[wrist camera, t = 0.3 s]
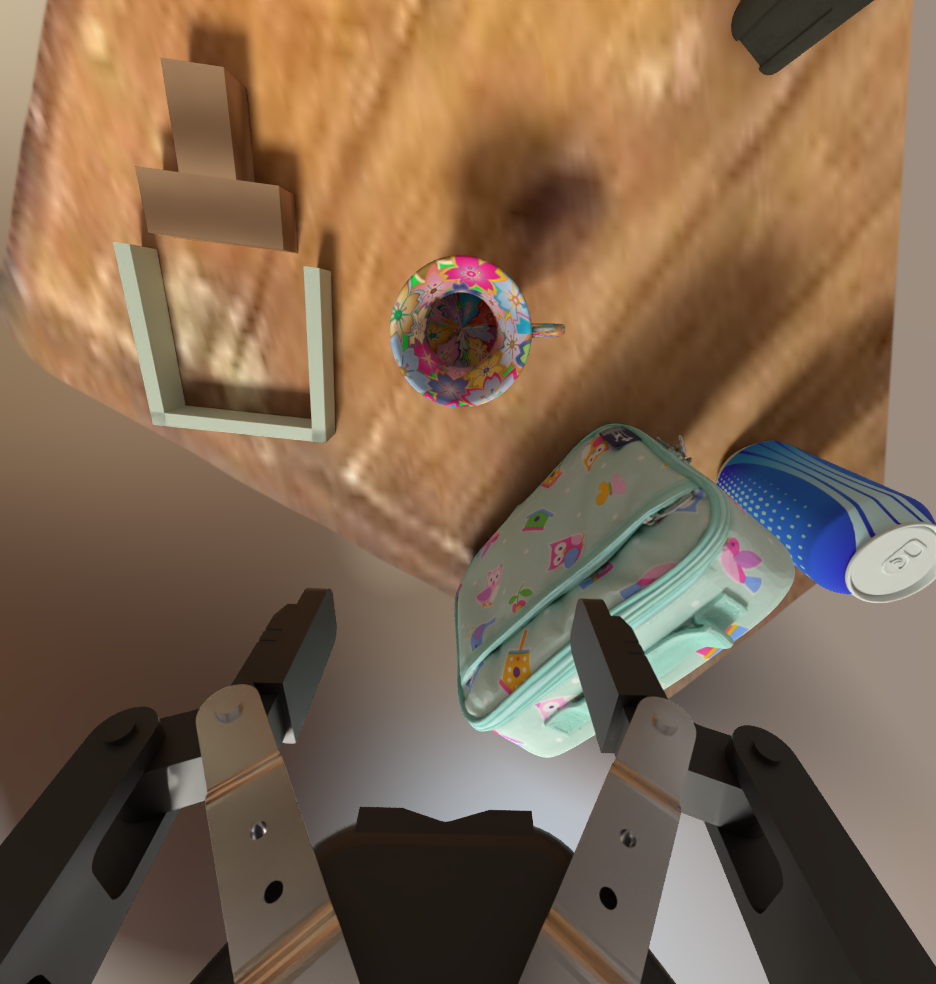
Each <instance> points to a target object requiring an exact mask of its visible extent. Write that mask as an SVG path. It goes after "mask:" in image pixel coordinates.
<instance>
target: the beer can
mask: <svg viewBox="0 0 936 984" xmlns="http://www.w3.org/2000/svg"><path fill="white" fill-rule="evenodd" d="M716 484H717V485H718V486H719V487H720V488H721V489H722V490H723V491H724V492H726V493H727V494H728V495H729V496H730V497H732V498H733V499H734V500H735V501H736V502H737V503H738V504H739V505H740V506H741V507H742V508H743V509H744V510H745V511H747V512H748V513H749V514H750V515H751V516H752V517H753V518H754V519H756V520H757V521H758V522H759V523H760V524H761V525H763V526H764V527H765V528H766V529H767V530H768V531H770V532H771V533H772V534H773V535H774V536H775V537H776V538H777V539H778V540H779V541H780V542H781V543H782V544H783V545H784V546H785V547H786V548H787V550H788V552H789V553H790V556H791V558H792V560H793V564H794V565H795V566H796V567H797V568H798V569H800V570H801V571H802V572H803V573H805V574H806V575H807V576H808V577H810V578H811V579H812V580H813V581H815V582H816V583H817V584H819V585H820V586H822V587H824V588H825V589H828V590H830V591H833V592H838V593H843V594H849V595H854V596H856V597H857V598H859V599H861V600H863V601H867V602H872V603H886V602H892V601H897V600H900V599H903V598H906V597H908V596H911V595H913V594H914V593H917V592H918V591H920V590H922V589H923V588H925V587H926V586H928V585H929V584H930V583H932V582H933V581H934V580H935V579H936V523H935V521H934V519H933V517H932V515H931V514H930V512H929V511H928V509H927V508H926V507H925V506H924V505H923V504H921V503H920V502H918V501H917V500H915V499H913V498H910V497H908V496H906V495H904V494H902V493H899V492H897V491H895V490H892V489H890V488H888V487H885V486H883V485H881V484H879V483H876V482H874V481H872V480H869V479H867V478H865V477H862V476H860V475H858V474H856V473H853V472H851V471H849V470H846V469H844V468H842V467H839V466H837V465H835V464H833V463H830V462H828V461H826V460H823V459H821V458H819V457H816V456H814V455H812V454H810V453H807V452H805V451H803V450H800V449H798V448H796V447H793V446H791V445H789V444H787V443H784V442H779V441H763V442H759V443H755V444H752V445H750V446H747V447H744V448H742V449H740V450H738V451H737V452H735V453H734V454H733V455H731V456H730V457H729V458H728V459H727V460H726V461H725V462H724V464H723V465H722V467H721V469H720V471H719V473H718V476H717V482H716Z"/></svg>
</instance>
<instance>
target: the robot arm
mask: <svg viewBox="0 0 936 984" xmlns="http://www.w3.org/2000/svg"><path fill="white" fill-rule="evenodd" d="M336 629H337V628H336V617H335V609H334V601H333V593H332V590H331V589H319V588H306V589H305V590H304V592H303V594H302V596H301V597H300V599H299V601H298V603H297V604H287V605H286V606H284V607H283V608H282V609H281V610H280V611H279V612H277V613H276V614H275V615H274V616H273V617H272V619H271V621H270V622H269V624H268V626H267V627H266V631H264V632H263V634H262V636H261V637H260V639H259V642H258V643H257V644H256V645H255V647H254V649H253V650H252V652H251V654H250V655H249V657H248V658H247V660H246V662H245V663H244V665H243V667H242V669H241V670H240V672H239V673H238V675H237V676H236V678H235V680H234V681H233V683H232V685H231V686H229V687H226V688H223V689H222V690H220V691H218V692H216V693H215V694H213V695H212V696H211V697H210V698H208V699H207V700H206V701H205V702H204V704H203V705H202V706H201V707H200V708H199V709H196V710H193V711H190V712H186V713H181V714H177V715H173V716H170V717H165V718H161V719H159V717H158V715H157V713H156V712H155V711H154V710H153V709H151V708H149V707H134V708H130V709H127V710H124V711H121V712H119V713H117V714H115V715H113V716H111V717H109V718H108V719H106V720H105V721H103V722H102V723H101V724H100V725H98V726H97V727H96V728H95V729H94V730H93V731H92V732H91V733H90V735H89V736H88V737H87V738H86V739H85V741H84V742H83V743H82V744H81V746H80V747H79V748H78V750H77V751H76V752H75V753H74V754H73V756H72V757H71V758H70V759H69V760H68V762H67V763H66V764H65V765H64V767H63V768H62V769H61V770H60V772H59V773H58V774H57V775H56V777H55V778H54V779H53V781H52V782H51V783H50V784H49V785H48V787H47V788H46V789H45V791H44V792H43V793H42V794H41V796H40V797H39V798H38V799H37V801H36V802H35V803H34V804H33V806H32V807H31V808H30V809H29V810H28V812H27V813H26V814H25V815H24V817H23V818H22V819H21V820H20V822H19V823H18V824H17V825H16V827H15V828H14V829H13V830H12V832H11V833H10V834H9V835H8V837H7V838H6V839H5V840H4V841H3V843H2V844H1V845H0V984H91V983H92V981H93V979H94V977H95V975H96V973H97V971H98V970H99V968H100V966H101V964H102V962H103V960H104V958H105V956H106V954H107V952H108V950H109V948H110V946H111V944H112V942H113V940H114V938H115V936H116V934H117V932H118V930H119V928H120V926H121V924H122V922H123V920H124V918H125V916H126V914H127V912H128V910H129V909H130V907H131V905H132V903H133V901H134V899H135V897H136V895H137V893H138V891H139V889H140V887H141V885H142V883H143V881H144V879H145V877H146V875H147V873H148V871H149V869H150V867H151V865H152V863H153V861H154V859H155V857H156V855H157V853H158V851H159V849H160V847H161V846H162V844H163V841H164V840H165V838H166V836H167V834H168V832H169V830H170V828H171V826H172V824H173V822H174V820H175V818H176V816H177V814H178V812H179V810H180V808H182V807H185V806H188V805H192V804H195V803H198V802H201V801H204V800H205V804H206V811H207V817H208V824H209V830H210V836H211V842H212V848H213V855H214V860H215V867H216V873H217V879H218V886H219V892H220V897H221V904H222V910H223V916H224V922H225V928H226V935H227V942H226V944H225V945H224V946H223V947H222V948H221V949H220V950H219V952H218V953H217V954H216V955H215V956H214V957H213V958H212V959H211V961H210V962H209V963H208V964H207V965H206V966H205V967H204V968H203V969H202V971H201V972H200V973H199V974H198V975H197V976H196V977H195V979H194V980H193V981H192V982H191V983H190V984H676V983H675V982H674V980H673V979H672V978H671V977H670V975H669V974H668V973H667V971H666V970H665V969H664V967H663V966H662V965H661V963H660V962H659V961H658V960H657V958H656V957H655V956H654V954H653V953H652V952H651V950H650V949H649V944H650V940H651V936H652V932H653V927H654V924H655V919H656V915H657V911H658V907H659V903H660V899H661V894H662V890H663V886H664V882H665V878H666V873H667V869H668V865H669V861H670V857H671V852H672V849H673V844H674V840H675V836H676V832H677V828H678V824H679V819H680V815H681V812H682V813H684V814H687V815H689V816H692V817H695V818H698V819H700V820H703V821H704V822H705V825H706V827H707V830H708V832H709V835H710V837H711V839H712V842H713V845H714V847H715V849H716V852H717V854H718V857H719V859H720V862H721V864H722V867H723V869H724V872H725V874H726V877H727V879H728V882H729V884H730V887H731V889H732V892H733V894H734V897H735V899H736V902H737V904H738V907H739V909H740V911H741V914H742V916H743V919H744V921H745V924H746V926H747V929H748V931H749V934H750V936H751V939H752V941H753V944H754V946H755V948H756V951H757V954H758V956H759V959H760V961H761V963H762V966H763V968H764V971H765V973H766V976H767V978H768V981H769V983H770V984H936V966H935V965H934V963H933V962H932V960H931V959H930V957H929V956H928V954H927V953H926V951H925V950H924V948H923V947H922V945H921V944H920V942H919V941H918V939H917V938H916V936H915V935H914V933H913V932H912V930H911V929H910V927H909V926H908V924H907V923H906V921H905V920H904V918H903V917H902V915H901V913H900V912H899V910H898V909H897V908H896V906H895V904H894V903H893V902H892V900H891V898H890V897H889V896H888V894H887V893H886V891H885V889H884V888H883V887H882V885H881V883H880V882H879V880H878V879H877V877H876V876H875V874H874V873H873V872H872V870H871V868H870V867H869V865H868V864H867V862H866V861H865V859H864V858H863V856H862V855H861V853H860V852H859V850H858V849H857V847H856V846H855V844H854V843H853V841H852V840H851V838H850V837H849V835H848V834H847V832H846V831H845V829H844V828H843V826H842V825H841V823H840V821H839V820H838V819H837V817H836V815H835V814H834V812H833V811H832V809H831V808H830V806H829V805H828V803H827V802H826V800H825V799H824V797H823V796H822V794H821V793H820V792H819V790H818V788H817V787H816V785H815V784H814V782H813V781H812V779H811V778H810V776H809V775H808V773H807V772H806V770H805V769H804V767H803V766H802V764H801V763H800V761H799V760H798V758H797V757H796V755H795V754H794V753H793V751H792V750H791V749H790V748H789V747H788V746H787V745H786V744H785V743H784V742H783V741H782V740H780V739H779V738H778V737H777V736H775V735H773V734H772V733H770V732H768V731H766V730H764V729H762V728H759V727H755V726H750V725H746V726H745V725H744V726H740V727H738V728H737V729H736V730H735V731H734V733H733V734H732V736H730V735H727V734H724V733H721V732H718V731H715V730H712V729H708V728H705V727H703V726H700V725H697V724H695V723H693V721H692V719H691V718H690V716H689V715H688V714H687V713H686V712H685V711H684V710H683V709H682V708H681V707H680V706H678V705H677V704H675V703H673V702H672V701H670V700H668V698H667V696H666V694H665V692H664V690H663V688H662V687H661V685H660V683H659V681H658V679H657V677H656V675H655V673H654V671H653V669H652V667H651V665H650V663H649V661H648V659H647V657H646V656H645V653H644V651H643V649H642V647H641V645H640V644H639V641H638V639H637V637H636V635H635V633H634V631H633V629H632V627H630V626H629V625H628V624H627V623H626V622H625V621H624V620H623V619H622V618H621V617H620V616H611V615H610V612H609V610H608V608H607V606H606V604H605V602H604V600H602V599H583V598H580V599H578V601H577V605H576V610H575V615H574V619H573V624H572V629H571V634H570V646H571V653H572V656H573V660H574V663H575V666H576V670H577V673H578V676H579V680H580V683H581V687H582V690H583V693H584V697H585V700H586V703H587V707H588V710H589V714H590V717H591V720H592V724H593V727H594V731H595V734H596V737H597V741H598V744H599V747H600V751H601V753H614V754H615V757H616V759H615V761H614V763H612V766H611V768H610V770H609V772H608V774H607V777H606V779H605V782H604V784H603V786H602V789H601V791H600V793H599V796H598V798H597V801H596V803H595V805H594V808H593V810H592V812H591V815H590V817H589V820H588V822H587V824H586V827H585V829H584V831H583V834H582V836H581V839H580V841H579V843H578V846H577V848H576V851H575V853H574V852H573V851H572V850H571V849H570V848H569V847H568V846H566V845H565V844H564V843H563V842H562V841H561V840H559V839H558V838H556V837H555V836H553V835H552V834H550V833H548V832H546V831H544V830H542V829H540V828H537V827H535V826H533V820H532V812H531V811H510V810H508V811H507V810H488V811H485V812H481V813H477V814H474V815H470V816H467V817H464V818H460V819H456V820H453V821H449V822H443V821H439V820H436V819H433V818H430V817H427V816H425V815H421V814H419V813H416V812H413V811H410V810H407V809H404V808H383V807H360V809H359V813H358V818H357V822H355V823H352V824H349V825H347V826H344V827H342V828H340V829H338V830H336V831H334V832H333V833H331V834H329V835H327V836H326V837H325V838H323V839H322V840H321V841H319V842H318V843H317V844H316V845H315V846H313V847H312V845H311V842H310V839H309V836H308V833H307V830H306V827H305V824H304V821H303V818H302V815H301V812H300V809H299V806H298V803H297V800H296V797H295V795H294V792H293V789H292V786H291V783H290V780H289V777H288V774H287V771H286V768H285V765H284V762H283V759H282V756H281V754H279V749H280V747H281V745H282V743H296V741H297V739H298V736H299V734H300V731H301V728H302V726H303V723H304V721H305V718H306V716H307V713H308V710H309V708H310V705H311V703H312V700H313V697H314V694H315V692H316V690H317V687H318V684H319V682H320V679H321V676H322V674H323V671H324V669H325V666H326V664H327V661H328V658H329V656H330V653H331V650H332V648H333V645H334V642H335V637H336Z"/></svg>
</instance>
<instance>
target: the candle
mask: <svg viewBox="0 0 936 984" xmlns="http://www.w3.org/2000/svg"><path fill="white" fill-rule="evenodd" d="M872 1H874V0H742V1H741V3H740V4H739V6H738V7H737V9H736V11H735V13H734V16H733V18H732V24H731V29H732V35H733V37H734V39H735V40H736V41H738V40H740V41H741V42H742V44H743V45H744V46H745V47H746V49H747V50H748V51H749V52H750V54H751V55H752V56H753V57H754V59H755V60H756V61H757V62H758V64H759V65H760V68H759V70H760V71H761V72H762V73H763V74H766V75H772V74H774V73H777V72H778V71H780V70H781V69H782V68H784V67H785V66H786V65H788V64H789V63H790V62H792V61H793V60H794V59H796V58H797V57H798V56H800V55H801V54H802V53H804V52H805V51H806V50H808V49H809V48H810V47H812V46H813V45H815V44H816V43H817V42H819V41H820V40H821V39H823V38H824V37H825V36H827V35H828V34H829V33H831V32H832V31H833V30H835V29H836V28H837V27H839V26H840V25H841V24H843V23H844V22H845V21H847V20H848V19H849V18H851V17H852V16H853V15H855V14H856V13H857V12H859V11H860V10H861V9H863V8H864V7H865V6H867V5H868V4H870V3H871V2H872Z"/></svg>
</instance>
